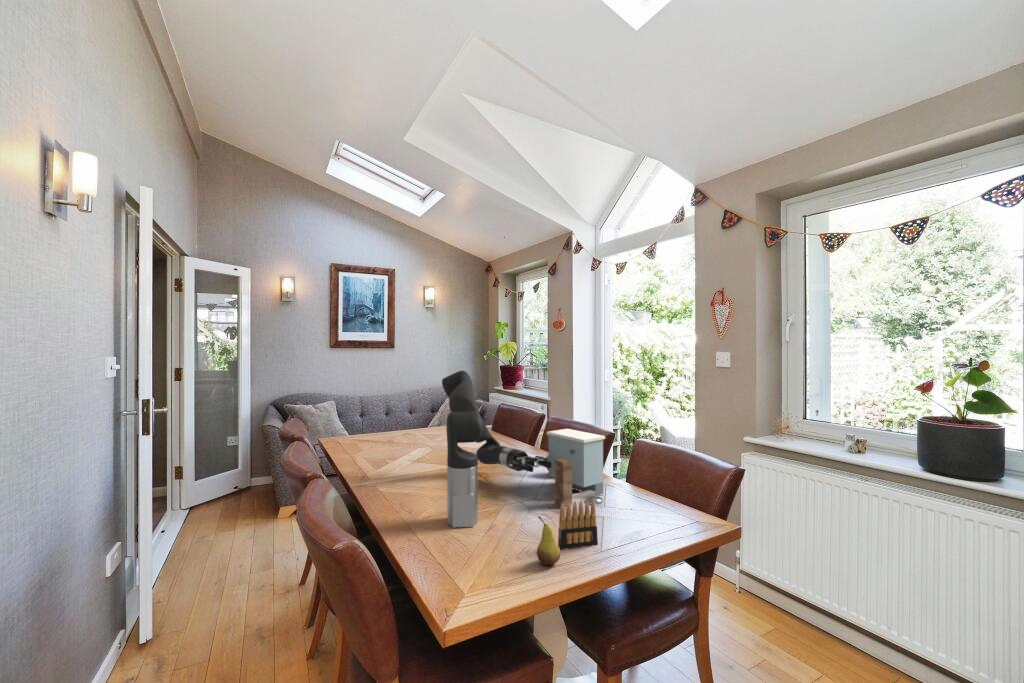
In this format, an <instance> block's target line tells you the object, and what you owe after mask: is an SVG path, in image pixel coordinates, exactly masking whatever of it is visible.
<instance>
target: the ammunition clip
mask: <svg viewBox="0 0 1024 683" xmlns="http://www.w3.org/2000/svg"><path fill="white" fill-rule="evenodd" d="M583 503H585V505H584V504H583ZM583 503H582V501H580V504H576V501H574V504H573V506H570V503H569V502H568V504H567V508H566V509H565V508H564V504H563V502H562V503H561V507H559V509H560V510H559V519H558V521H559V522H558V524H559V527H558V535H557V536H558V538H557V545H558V546H559V549H560V550H566V549H565V548H568V549H574V547H577V548H583V547H582V546H586V547H591V545H594V546H598V545H599V540H598V539H599V538H598V525H597V514H596V512H597V511H596V505H595V502H594V500H592V503H591V504H589V503H588V500H586V502H583ZM571 507H572V508H571ZM565 510H566V511H565Z"/></svg>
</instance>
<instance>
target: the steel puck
mask: <svg viewBox="0 0 1024 683" xmlns="http://www.w3.org/2000/svg"><path fill="white" fill-rule="evenodd" d="M592 500H594V502H595V504H601V503H602V502H603V498H602V497H600V496H597V497H596V496H591V497H588V503H592ZM602 504H603V503H602ZM602 504H601V505H602Z"/></svg>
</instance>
